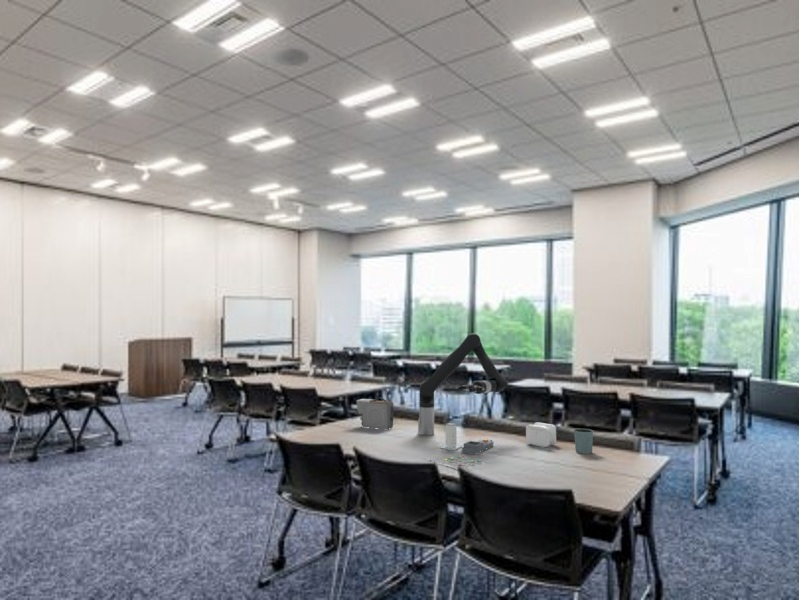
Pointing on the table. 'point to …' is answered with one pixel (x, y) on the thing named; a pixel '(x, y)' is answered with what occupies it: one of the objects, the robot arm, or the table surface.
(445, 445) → the mat
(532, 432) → the cable organizer
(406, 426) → the table surface
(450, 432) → the block
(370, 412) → the grey boxy piece
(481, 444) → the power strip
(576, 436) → the teal cup
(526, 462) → the table surface
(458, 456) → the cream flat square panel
